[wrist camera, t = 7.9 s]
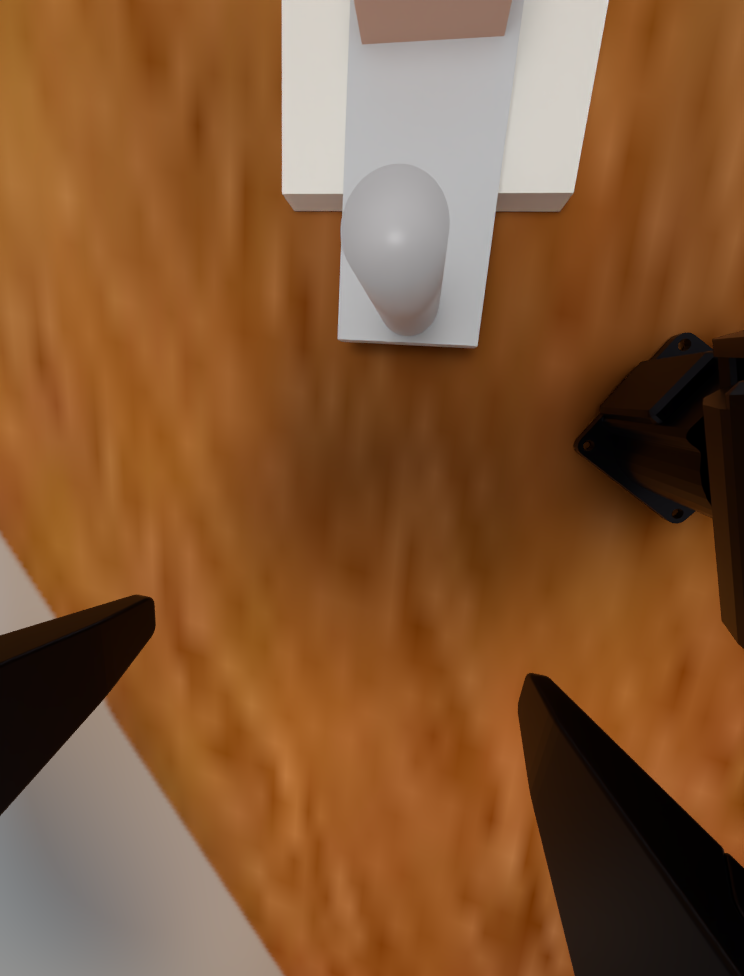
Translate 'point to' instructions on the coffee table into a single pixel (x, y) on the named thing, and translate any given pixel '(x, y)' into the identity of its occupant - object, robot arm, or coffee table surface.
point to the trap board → (532, 114)
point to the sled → (423, 166)
